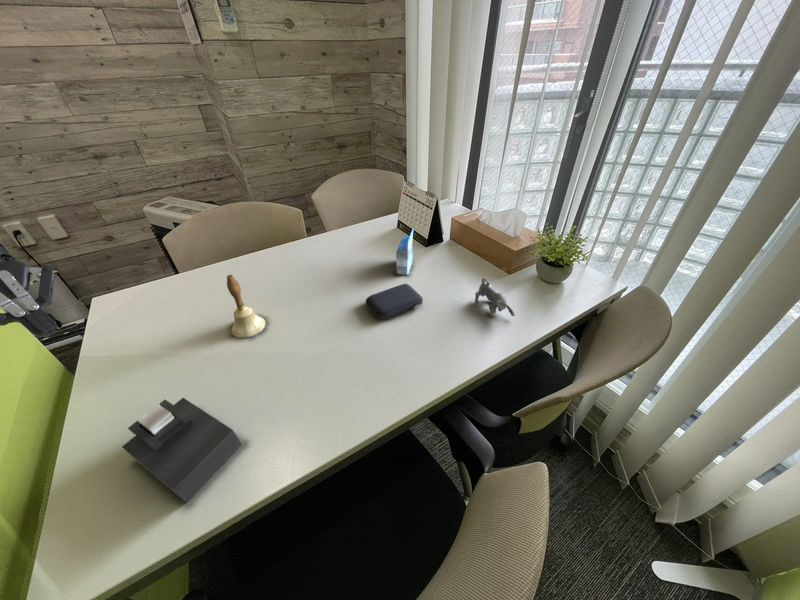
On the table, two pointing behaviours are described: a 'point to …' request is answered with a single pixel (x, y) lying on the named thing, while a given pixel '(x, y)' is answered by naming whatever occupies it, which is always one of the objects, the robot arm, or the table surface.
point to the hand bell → (243, 313)
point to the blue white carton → (404, 255)
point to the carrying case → (394, 301)
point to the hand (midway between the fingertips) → (50, 333)
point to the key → (156, 419)
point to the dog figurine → (492, 298)
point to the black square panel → (183, 448)
